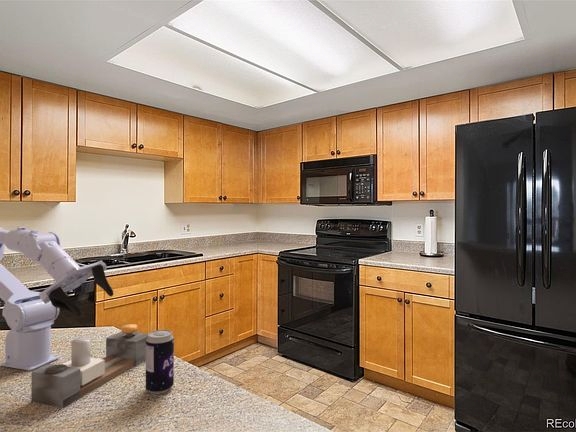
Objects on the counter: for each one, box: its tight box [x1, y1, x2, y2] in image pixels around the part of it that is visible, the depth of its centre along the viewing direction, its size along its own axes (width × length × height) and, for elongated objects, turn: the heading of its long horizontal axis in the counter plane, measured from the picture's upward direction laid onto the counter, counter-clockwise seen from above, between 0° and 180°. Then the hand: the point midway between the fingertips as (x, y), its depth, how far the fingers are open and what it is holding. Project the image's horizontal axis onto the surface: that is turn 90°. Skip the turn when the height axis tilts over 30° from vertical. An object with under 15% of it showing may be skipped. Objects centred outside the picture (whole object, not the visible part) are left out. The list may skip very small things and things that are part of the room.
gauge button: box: [121, 323, 138, 338], centre depth 93 cm, size 4×4×3 cm
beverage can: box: [145, 329, 175, 395], centre depth 77 cm, size 6×6×12 cm
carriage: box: [62, 337, 105, 386], centre depth 78 cm, size 7×6×8 cm
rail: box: [30, 330, 149, 409], centre depth 83 cm, size 9×26×6 cm, turn 164°
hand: (96, 303), depth 82 cm, fingers open, 7 cm apart
